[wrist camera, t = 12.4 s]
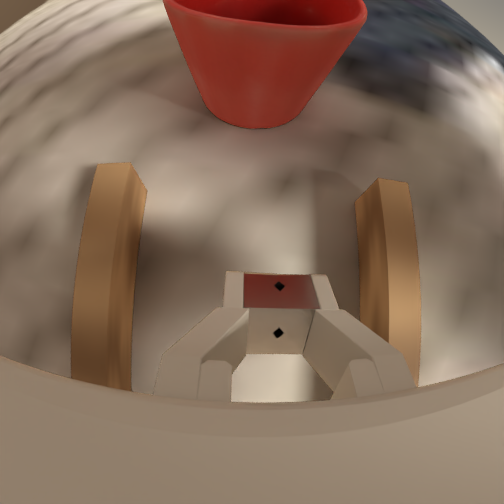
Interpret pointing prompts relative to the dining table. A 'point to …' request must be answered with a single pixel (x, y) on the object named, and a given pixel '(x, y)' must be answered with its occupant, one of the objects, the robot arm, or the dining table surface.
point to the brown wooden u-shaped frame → (125, 263)
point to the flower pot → (262, 52)
